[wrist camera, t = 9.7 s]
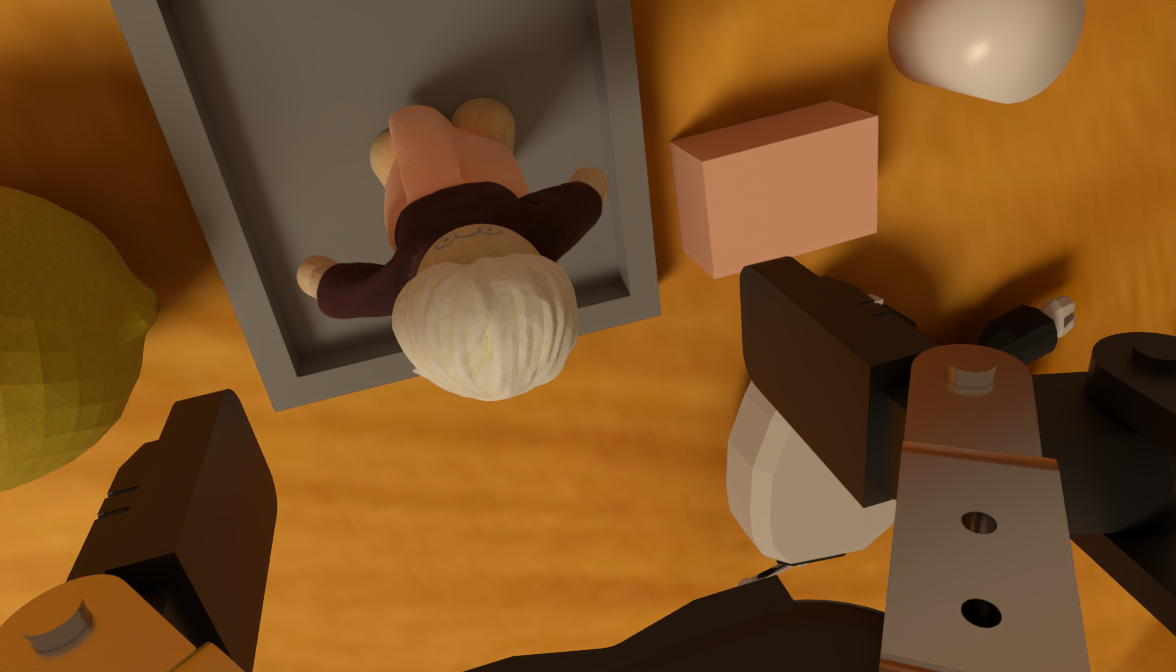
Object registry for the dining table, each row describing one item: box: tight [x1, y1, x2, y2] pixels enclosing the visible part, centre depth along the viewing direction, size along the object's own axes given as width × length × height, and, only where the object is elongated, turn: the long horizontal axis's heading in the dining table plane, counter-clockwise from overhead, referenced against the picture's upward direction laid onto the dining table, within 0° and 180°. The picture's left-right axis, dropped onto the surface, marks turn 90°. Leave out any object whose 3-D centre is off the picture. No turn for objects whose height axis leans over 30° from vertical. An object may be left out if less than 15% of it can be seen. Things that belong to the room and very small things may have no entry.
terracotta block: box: [669, 100, 878, 279], centre depth 26 cm, size 6×4×3 cm, turn 100°
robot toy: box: [726, 294, 1076, 587], centre depth 32 cm, size 12×4×15 cm
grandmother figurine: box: [297, 98, 609, 401], centre depth 18 cm, size 8×4×13 cm, turn 115°
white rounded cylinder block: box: [888, 0, 1085, 104], centre depth 25 cm, size 4×4×4 cm
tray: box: [110, 0, 661, 412], centre depth 23 cm, size 13×13×2 cm
